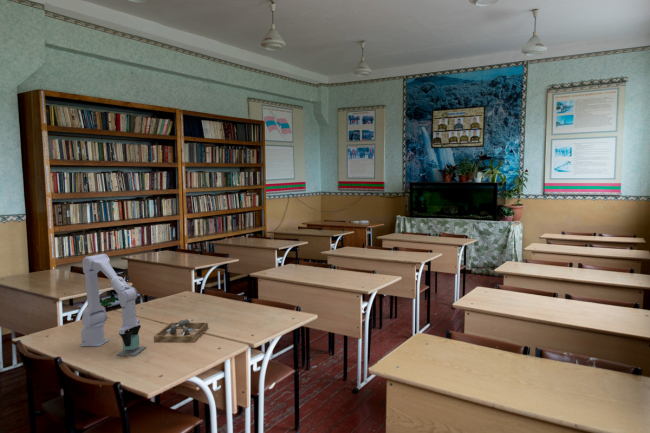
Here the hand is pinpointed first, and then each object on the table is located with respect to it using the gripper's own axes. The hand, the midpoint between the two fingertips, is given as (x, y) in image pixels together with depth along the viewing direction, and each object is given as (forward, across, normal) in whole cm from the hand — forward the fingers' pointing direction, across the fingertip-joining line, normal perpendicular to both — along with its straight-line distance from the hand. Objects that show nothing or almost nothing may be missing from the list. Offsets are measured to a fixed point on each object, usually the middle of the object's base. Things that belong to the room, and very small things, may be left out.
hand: (130, 343), depth 199 cm
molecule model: (+4, +24, -13) cm, 28 cm away
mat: (+4, 0, 0) cm, 4 cm away
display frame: (+4, +22, -15) cm, 27 cm away
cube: (+2, 0, 0) cm, 2 cm away
